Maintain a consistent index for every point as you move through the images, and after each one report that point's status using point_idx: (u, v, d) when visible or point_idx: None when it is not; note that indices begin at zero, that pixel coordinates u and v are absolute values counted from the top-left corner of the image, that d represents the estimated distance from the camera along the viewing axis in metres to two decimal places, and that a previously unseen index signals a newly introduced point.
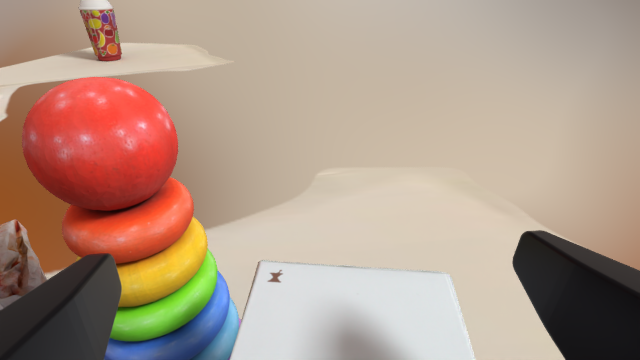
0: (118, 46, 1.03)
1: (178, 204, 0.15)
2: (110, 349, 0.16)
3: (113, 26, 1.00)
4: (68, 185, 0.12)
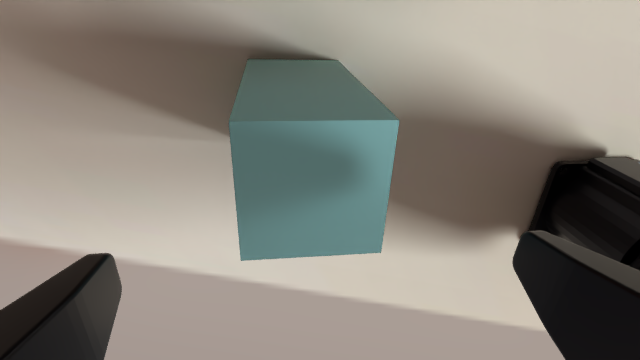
0: None
1: None
2: None
3: None
4: None
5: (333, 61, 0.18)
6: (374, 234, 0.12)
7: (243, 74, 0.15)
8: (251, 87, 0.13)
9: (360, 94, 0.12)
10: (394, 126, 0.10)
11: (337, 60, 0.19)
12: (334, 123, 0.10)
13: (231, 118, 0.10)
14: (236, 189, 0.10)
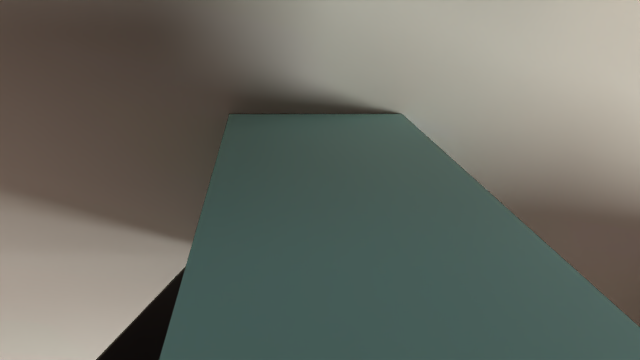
0: None
1: None
2: None
3: None
4: None
5: (396, 118, 0.09)
6: None
7: (209, 186, 0.06)
8: (220, 290, 0.04)
9: (608, 338, 0.03)
10: None
11: (401, 114, 0.10)
12: None
13: None
14: None
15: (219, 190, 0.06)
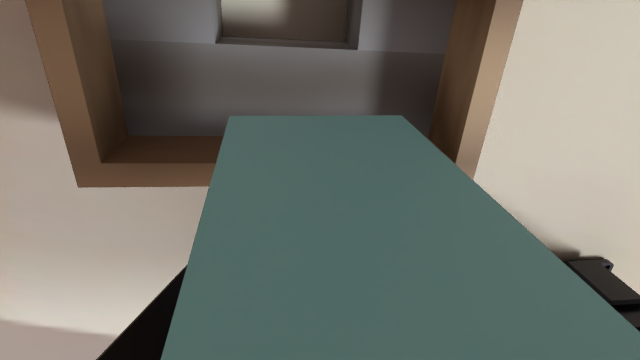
0: None
1: None
2: None
3: None
4: None
5: (396, 120, 0.09)
6: None
7: (209, 188, 0.06)
8: (220, 293, 0.04)
9: (606, 342, 0.03)
10: None
11: (401, 116, 0.10)
12: None
13: None
14: None
15: (219, 192, 0.06)
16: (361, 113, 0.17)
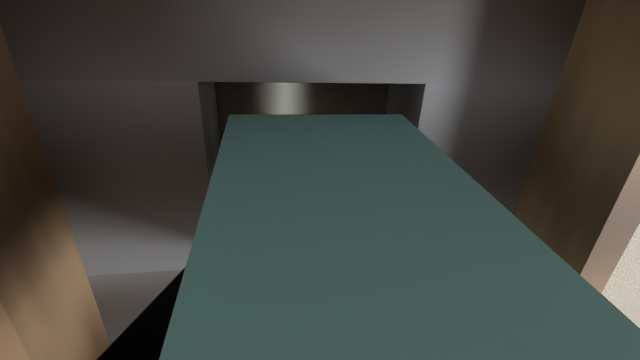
0: None
1: None
2: None
3: None
4: None
5: (396, 118, 0.09)
6: None
7: (209, 187, 0.06)
8: (220, 292, 0.04)
9: (609, 341, 0.03)
10: None
11: (401, 115, 0.10)
12: None
13: None
14: None
15: (219, 191, 0.06)
16: None
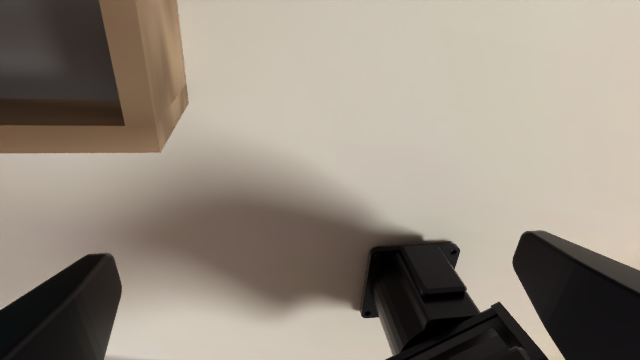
0: None
1: None
2: None
3: None
4: None
5: None
6: None
7: None
8: None
9: None
10: None
11: None
12: None
13: None
14: None
15: None
16: (45, 68, 0.14)
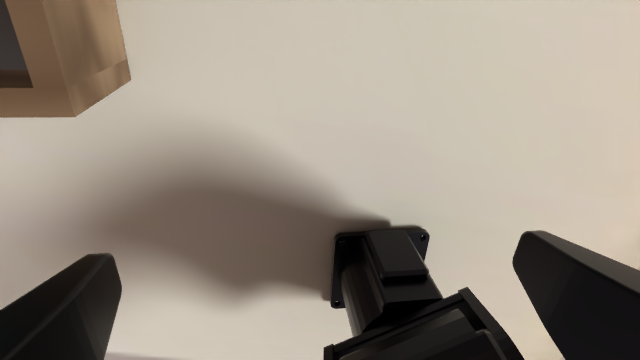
0: None
1: None
2: None
3: None
4: None
5: None
6: None
7: None
8: None
9: None
10: None
11: None
12: None
13: None
14: None
15: None
16: None
